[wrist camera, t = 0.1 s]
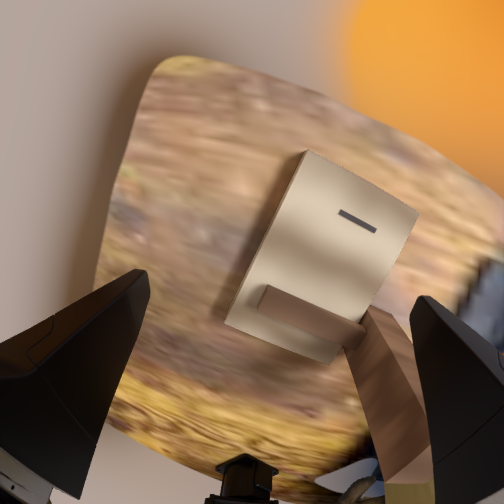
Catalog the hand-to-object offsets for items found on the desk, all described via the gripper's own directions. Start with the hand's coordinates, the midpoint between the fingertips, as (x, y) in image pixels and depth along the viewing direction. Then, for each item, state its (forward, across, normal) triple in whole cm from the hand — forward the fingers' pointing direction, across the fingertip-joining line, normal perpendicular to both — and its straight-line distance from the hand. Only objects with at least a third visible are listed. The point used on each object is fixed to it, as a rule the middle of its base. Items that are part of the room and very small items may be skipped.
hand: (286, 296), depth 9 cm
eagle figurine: (+5, -18, +44) cm, 48 cm away
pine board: (+14, -4, +7) cm, 16 cm away
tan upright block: (+13, -5, +11) cm, 18 cm away
